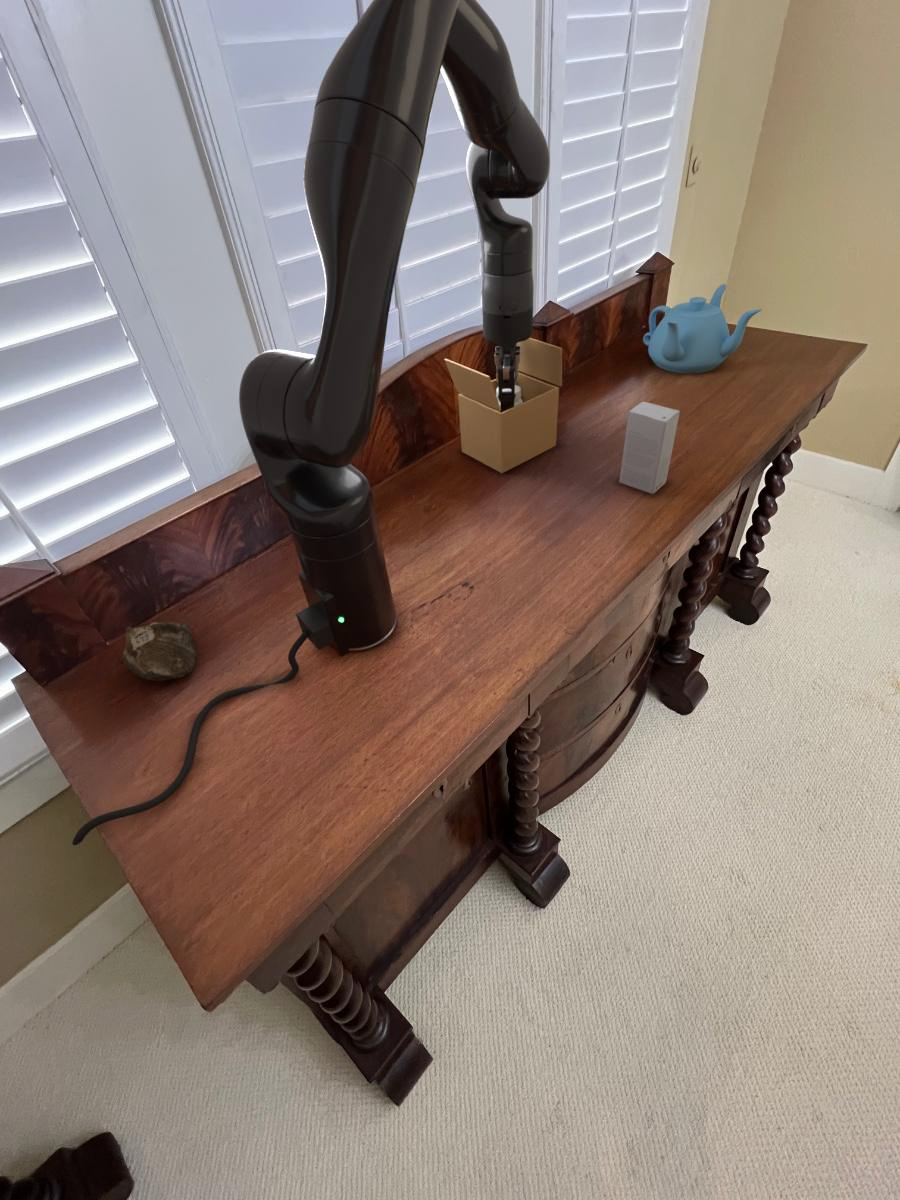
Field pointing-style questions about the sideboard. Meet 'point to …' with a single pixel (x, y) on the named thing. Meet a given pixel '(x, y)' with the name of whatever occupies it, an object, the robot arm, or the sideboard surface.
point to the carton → (516, 413)
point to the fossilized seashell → (160, 651)
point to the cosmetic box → (648, 446)
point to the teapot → (693, 335)
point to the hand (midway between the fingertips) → (507, 412)
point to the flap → (473, 384)
